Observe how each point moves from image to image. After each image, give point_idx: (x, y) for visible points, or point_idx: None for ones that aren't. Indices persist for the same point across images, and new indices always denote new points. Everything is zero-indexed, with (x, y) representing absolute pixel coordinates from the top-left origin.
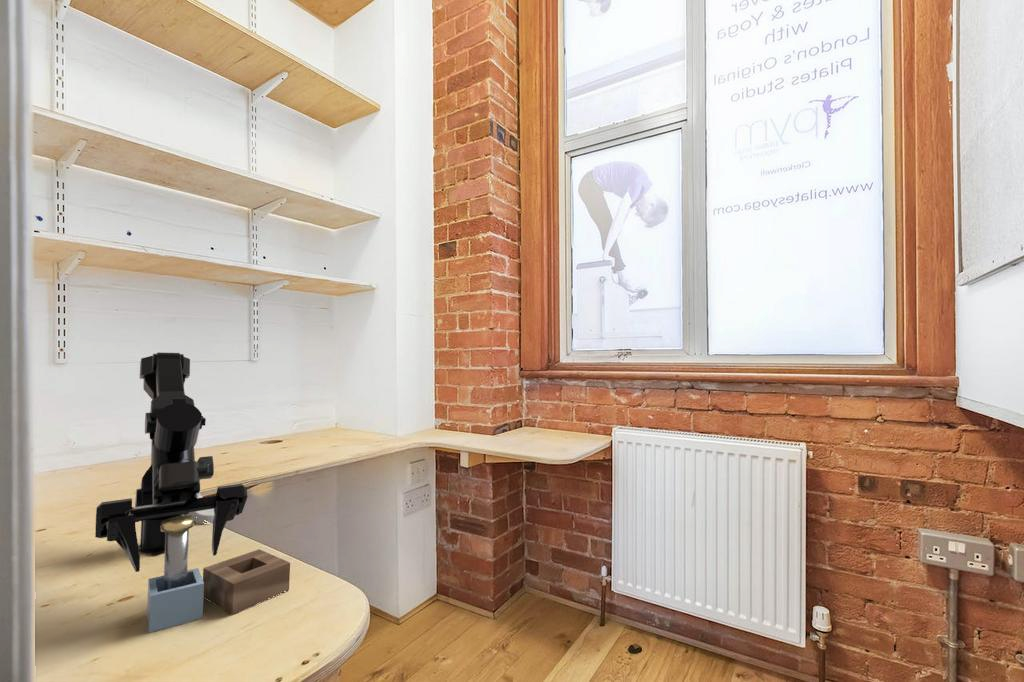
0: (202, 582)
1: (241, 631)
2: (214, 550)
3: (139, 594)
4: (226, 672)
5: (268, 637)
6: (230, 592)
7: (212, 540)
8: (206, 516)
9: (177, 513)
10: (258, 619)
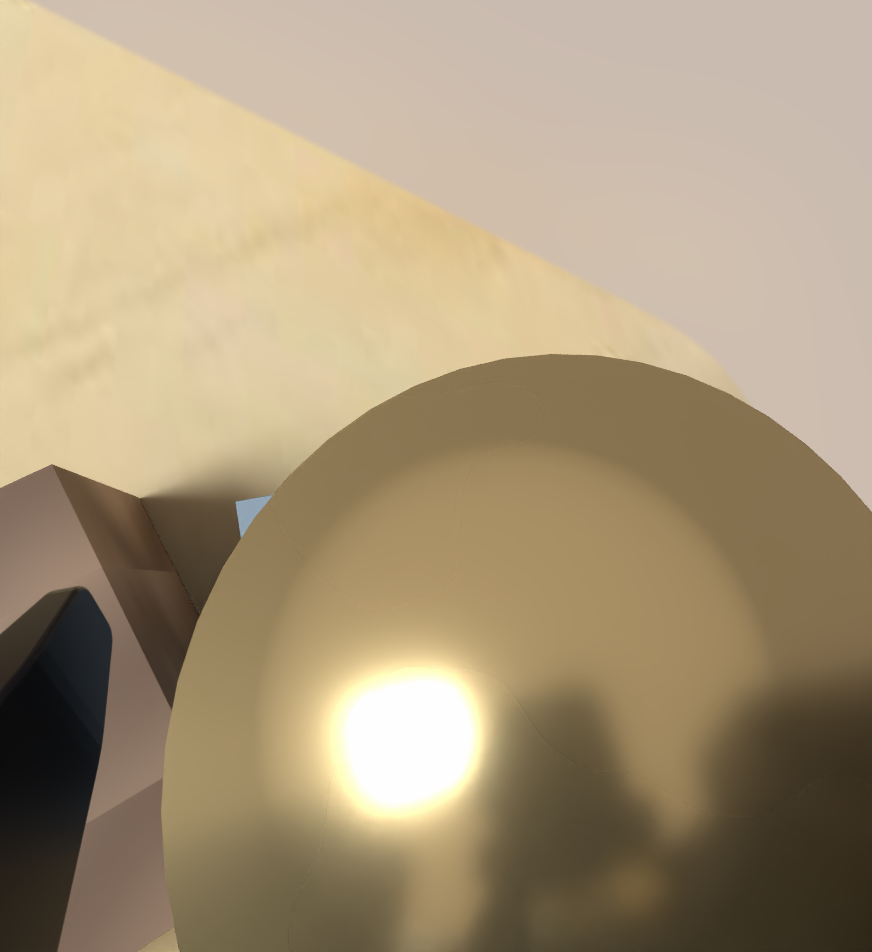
0: (245, 520)
1: (112, 327)
2: (69, 592)
3: None
4: (184, 84)
5: (8, 227)
6: (102, 511)
7: (56, 864)
8: None
9: None
10: (25, 399)
